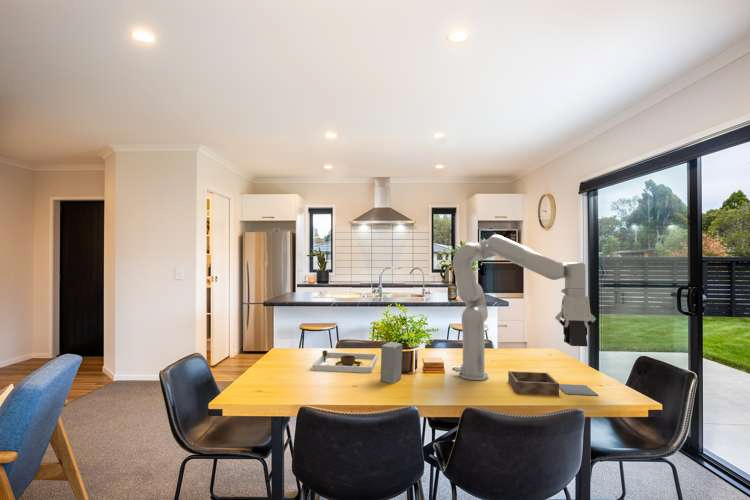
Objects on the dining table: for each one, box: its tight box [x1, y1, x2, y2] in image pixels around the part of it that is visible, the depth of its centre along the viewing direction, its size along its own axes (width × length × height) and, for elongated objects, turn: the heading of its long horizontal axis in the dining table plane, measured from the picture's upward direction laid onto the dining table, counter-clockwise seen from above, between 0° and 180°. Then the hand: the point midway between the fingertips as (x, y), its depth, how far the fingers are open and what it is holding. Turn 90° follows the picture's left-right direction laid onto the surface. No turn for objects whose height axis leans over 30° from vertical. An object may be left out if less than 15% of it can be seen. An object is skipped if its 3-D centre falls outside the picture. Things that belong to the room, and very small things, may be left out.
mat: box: [559, 383, 599, 397], centre depth 161 cm, size 12×12×1 cm
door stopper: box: [563, 321, 589, 347], centre depth 161 cm, size 9×6×12 cm, turn 172°
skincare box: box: [380, 341, 403, 385], centre depth 172 cm, size 8×7×16 cm
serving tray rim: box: [312, 351, 379, 374], centre depth 197 cm, size 28×26×2 cm
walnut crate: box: [507, 370, 560, 396], centre depth 163 cm, size 16×15×4 cm
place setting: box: [321, 350, 364, 366], centre depth 198 cm, size 18×20×6 cm
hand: (575, 336), depth 161 cm, fingers closed on door stopper, 6 cm apart
